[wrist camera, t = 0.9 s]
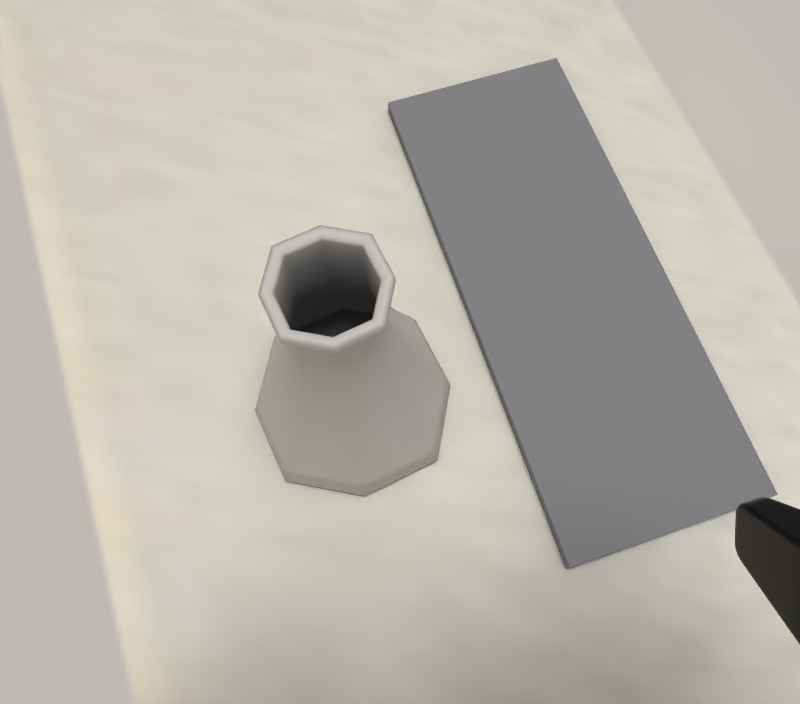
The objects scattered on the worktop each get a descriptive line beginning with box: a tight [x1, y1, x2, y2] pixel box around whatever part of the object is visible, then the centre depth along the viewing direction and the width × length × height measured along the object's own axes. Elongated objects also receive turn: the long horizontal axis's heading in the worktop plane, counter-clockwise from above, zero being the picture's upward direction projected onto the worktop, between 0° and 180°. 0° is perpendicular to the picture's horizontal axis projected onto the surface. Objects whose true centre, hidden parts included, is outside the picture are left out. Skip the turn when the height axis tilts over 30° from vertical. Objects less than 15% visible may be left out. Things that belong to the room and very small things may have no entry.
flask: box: [255, 225, 450, 496], centre depth 20 cm, size 7×7×10 cm
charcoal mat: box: [388, 58, 778, 568], centre depth 26 cm, size 20×8×1 cm, turn 18°
